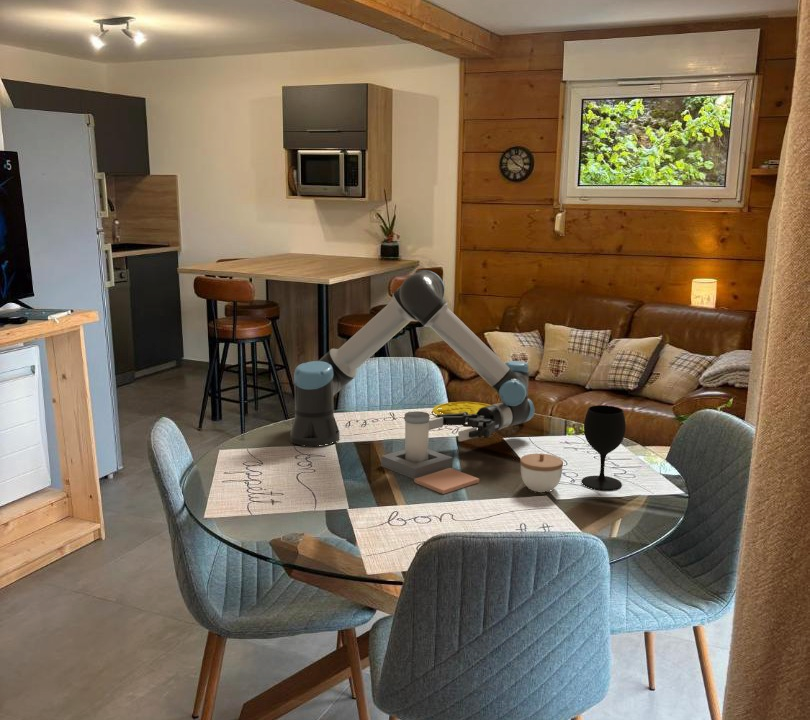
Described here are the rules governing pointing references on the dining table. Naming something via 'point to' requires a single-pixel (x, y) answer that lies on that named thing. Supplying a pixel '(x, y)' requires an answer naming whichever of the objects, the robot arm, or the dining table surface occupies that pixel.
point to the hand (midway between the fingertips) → (442, 431)
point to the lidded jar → (541, 471)
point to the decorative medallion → (459, 407)
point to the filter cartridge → (416, 436)
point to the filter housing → (413, 470)
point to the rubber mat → (446, 480)
